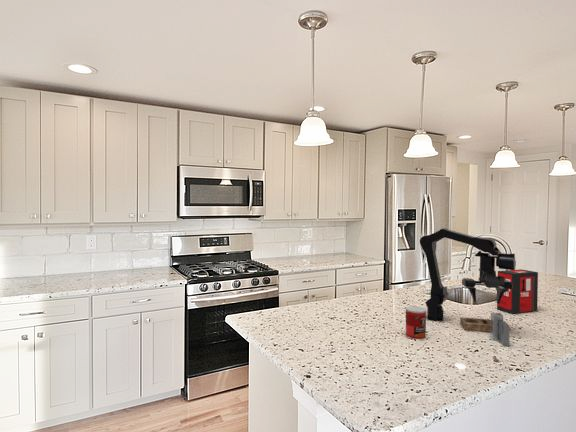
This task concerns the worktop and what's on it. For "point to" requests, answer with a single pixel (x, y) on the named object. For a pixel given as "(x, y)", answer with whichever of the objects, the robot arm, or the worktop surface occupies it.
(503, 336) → the grey rectangular block
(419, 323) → the canned food
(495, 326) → the square bit
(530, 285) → the cleaning product box
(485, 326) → the brown wooden slotted frame
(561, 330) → the worktop surface
